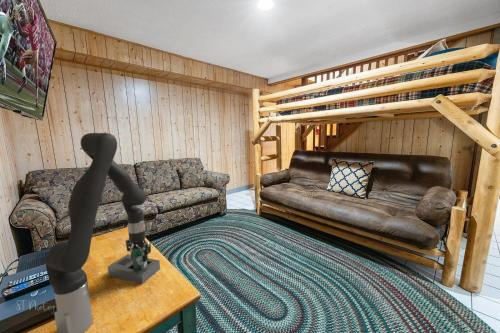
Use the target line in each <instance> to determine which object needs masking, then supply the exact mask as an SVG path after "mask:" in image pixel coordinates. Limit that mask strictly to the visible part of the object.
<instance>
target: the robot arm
mask: <svg viewBox="0 0 500 333" xmlns="http://www.w3.org/2000/svg"><path fill="white" fill-rule="evenodd" d="M80 147H81V149H82V150H83V152H84V153H85V154H86V156H88V157H89V158H90V159H91V164H90V165H89V167H88V168H87V170H86V171H85V172H84V173H83V175H82V176H81V177H80V178H78V180H77V181H76V183H75V184H74V186H73V187H72V189H71V190H72V191H71V193H70V196H69V200H68V205H67V209H68V210H67V211H68V216H69V221H70V222H69V223H70V232H69V237H68V240H67V241H62V242H58V243H56V244H54V245H53V246H52V247H50V249H49V250H48V251H47V253H46V256H45V269H46V273H47V278H48V281H49V284H50V286H51V287H52V288H53V293H54V300H55V306H56V311H55V312H54V313H53V314H54V320H55V325H56V332H57V333H85V332H86V331H87V330H88V329H89V328H90V327H91V326H92V324H93V321H94V320H93V314H92V303H91V298H90V290H89V282H88V274H87V273H86V272H85V270H84V269H82V268H83V267H84V265H85V264H86V263H87V261H88V258H89V255H90V251H91V243H92V238H93V230H94V227H95V226H94V225H95V222H96V219H97V218H96V217H97V214H98V210H99V207H100V204H101V199H102V196H103V192H104V187H105V184H106V181H107V177H108V178H109V179H110V180H111V181H112V182H111V183H113V184H114V187H115V188H116V189H117V190H118V191H119V192H120V193H122V196H121V202H122V206H123V208H124V210H125V213H126V214H127V232H128V239H126V240H125V247H126V251H127V252H129V253H130V255H131V258H132V249H131V248H136V249H140V252H141V253H142V254H143V262H146V261H147V260H148V258H149V256H148V255H149V254H151V253H152V245H151V244H152V243H151V241H146V237H147V235H146V234H147V233H146V224H145V219H144V218H145V216H144V210H143V209H142V208H140V207H138V206H142V205H144V204H145V203H146V198H147V197H146V194H145V192H144V190H143V189H142V188H141V187H139V186H138V184H136V183H135V182H134V181H133V179H132V177H131V176H130V174H129V173H128V172H127V171H126V169H124V168H123V167H122V166H121V165H120V164H118V163H117V162H116V161H114V158H115V156H116V153H117V150H118V141H117V138H116V137H115V135H114V134H112V133H108V132H106V133H105V132H89V133H85V134H84V135H83V136H81V139H80ZM143 247H145V248H144V249H141V248H143ZM144 250H145V253H144ZM132 260H133V259H132Z"/></svg>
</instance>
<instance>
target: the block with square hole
mask: <svg viewBox="0 0 500 333" xmlns="http://www.w3.org/2000/svg"><path fill="white" fill-rule="evenodd" d="M160 262H161V261H160V260H158V259H154V258H149V257H148V260H147V266H146V267H145V268H143V269H142V270H141V271H139V270H134V269H133V260H132V258H131V254H128V253H127V254H126V255H124V256H122V257H120V258H119V259H118V260H116V261H115V262H114V261H113V263H111V264H109V265H108V266H107V273H108V276H109V277H113V278H116V279H120V280H121V279H122V280H124V281H128V282H132V283H133V282H134V283H138V284H141V285H143V284H145V283H146V282H147V281H148V280H149V279H151V278H152V277H153V276H154V275H155V274H156V273H157V272H159V270H161V263H160Z"/></svg>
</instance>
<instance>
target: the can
mask: <svg viewBox="0 0 500 333" xmlns="http://www.w3.org/2000/svg"><path fill="white" fill-rule="evenodd" d="M144 248H145V247H143V248H141V249H144ZM131 249H132V259H133V269H134V270H139V271H141V270H142V269H143V268H145V267H146V266H147V261H146V262H143V254H142V253H141V252H140V249H136V248H131ZM144 253H145V250H144Z"/></svg>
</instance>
